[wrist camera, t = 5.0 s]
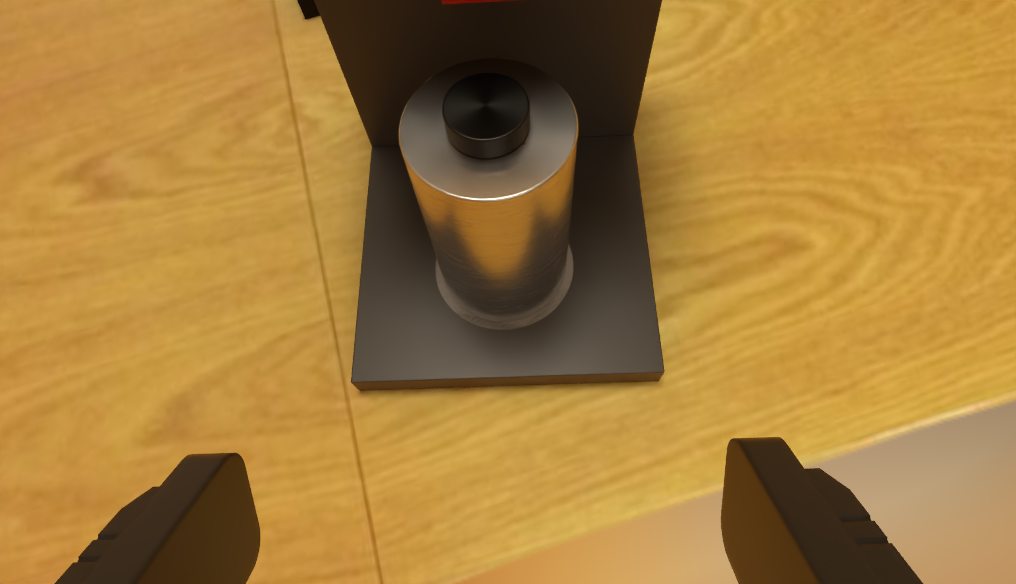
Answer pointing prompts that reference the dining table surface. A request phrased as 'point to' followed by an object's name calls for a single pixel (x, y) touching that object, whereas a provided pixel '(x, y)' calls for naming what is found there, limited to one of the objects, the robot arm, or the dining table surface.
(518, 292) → the steel carafe
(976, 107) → the dining table surface
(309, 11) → the remote control
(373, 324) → the coffee maker
